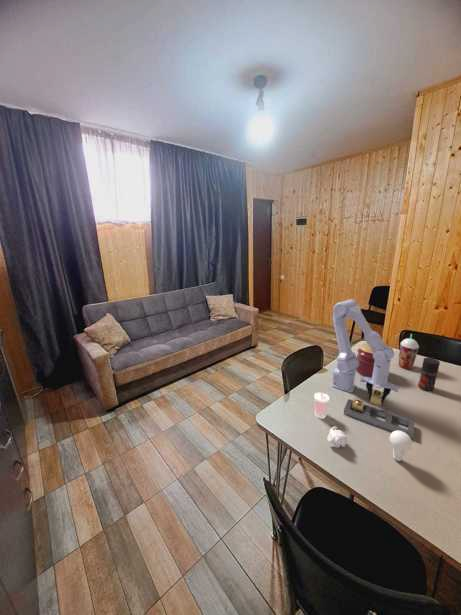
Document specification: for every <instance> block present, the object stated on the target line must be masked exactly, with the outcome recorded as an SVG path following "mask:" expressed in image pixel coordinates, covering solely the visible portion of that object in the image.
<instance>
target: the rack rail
mask: <svg viewBox="0 0 461 615" xmlns="http://www.w3.org/2000/svg"><path fill="white" fill-rule="evenodd" d="M353 401H354V399H353V400H352V399H350V398H348V399H347V401H346V404H345V406H344V408H343V415H346V416H348V417H350V418H353V419H356V420H359V421H362V422H364V423H367V424H369V425H372V426H375V427H378V428H380V429H383V430H386V431H389V432H390V433H392V432H394V431H397V430H399V431H403V432H405V433H406V434H408V436H409V437H410V438H411V440H412V441H413V439H414V435H415V420H412V419H409V418H406V417H404V416H401V415H398V414H394V413H391V412H389V411H385V410H383V409H379V408H376V407H374V406H372V405H371V406H370V405H368V404H365V403H364V409H363V414H362V413H359V412H356V411H354V410H352V403H353ZM371 415H374V416H377V417H380V418H383V419H385V420H381V419H379V418H375V417H373V416H371ZM392 422H394V423H397V424H400V425H403V426H406V427H407V428H404V427H400V426H398V425H396V424H392Z"/></svg>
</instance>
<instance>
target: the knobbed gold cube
mask: <svg viewBox="0 0 461 615" xmlns="http://www.w3.org/2000/svg"><path fill="white" fill-rule="evenodd" d="M382 396H383V391H380V390H378V389H374V388H373V389H372V394H371V399H370V404H372V405H375V406H378V407H381V404H382V403H381V400H382Z"/></svg>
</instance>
